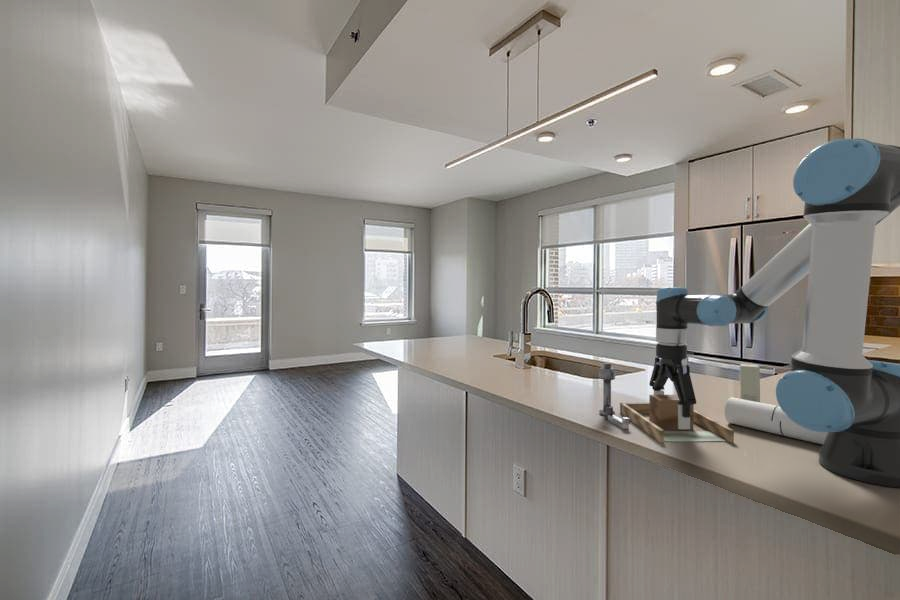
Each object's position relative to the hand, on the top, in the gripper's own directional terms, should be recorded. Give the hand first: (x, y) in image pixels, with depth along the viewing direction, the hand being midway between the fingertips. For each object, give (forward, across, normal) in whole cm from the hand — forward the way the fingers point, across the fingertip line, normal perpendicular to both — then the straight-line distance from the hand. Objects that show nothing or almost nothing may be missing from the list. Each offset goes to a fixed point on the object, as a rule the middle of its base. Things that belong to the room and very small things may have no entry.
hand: (670, 420), depth 116 cm
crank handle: (+2, +2, +14) cm, 14 cm away
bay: (+1, 0, 0) cm, 1 cm away
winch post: (+2, +11, +14) cm, 17 cm away
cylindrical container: (-2, +2, -18) cm, 18 cm away
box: (+2, +20, -35) cm, 40 cm away
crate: (+2, 0, 0) cm, 2 cm away
